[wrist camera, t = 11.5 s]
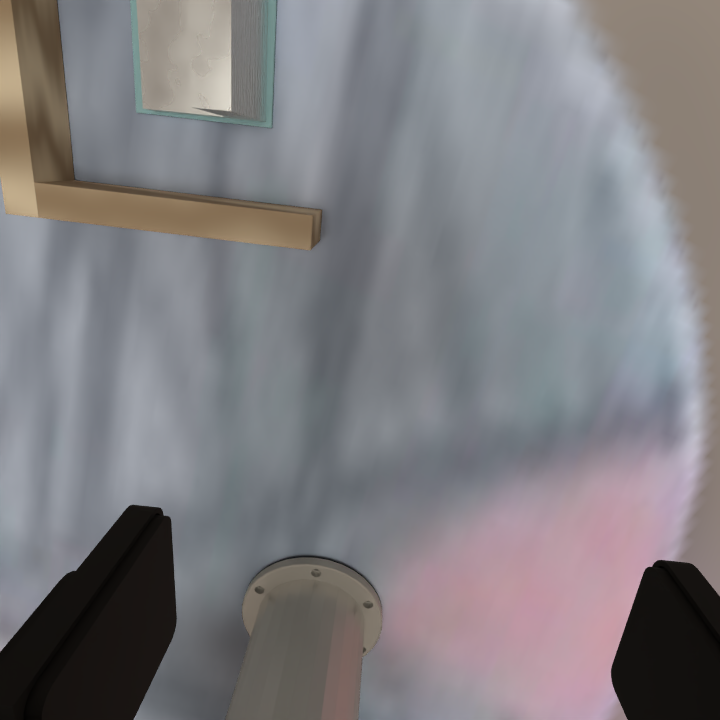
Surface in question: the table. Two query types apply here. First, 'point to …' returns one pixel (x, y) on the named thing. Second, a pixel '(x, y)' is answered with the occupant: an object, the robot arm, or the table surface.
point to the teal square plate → (268, 124)
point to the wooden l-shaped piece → (96, 200)
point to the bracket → (204, 57)
